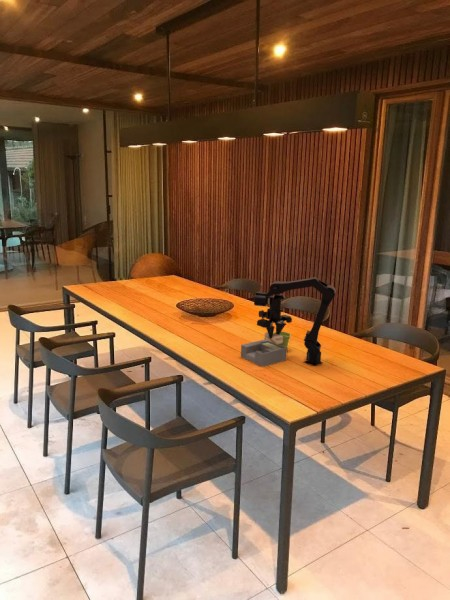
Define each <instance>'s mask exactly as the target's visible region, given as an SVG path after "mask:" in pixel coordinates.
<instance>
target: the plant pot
mask: <svg viewBox="0 0 450 600" xmlns="http://www.w3.org/2000/svg"><path fill="white" fill-rule="evenodd" d="M273 333H275V334H276V331H275V332H274V331H273ZM280 335H281V336H283V343H281V344H278V345H281V346H283V347H286V348H287V349H288V346H289V345H288V344H289V342H290V337H291V336H292V334H291V333H290V332H286V331H281V333H280Z"/></svg>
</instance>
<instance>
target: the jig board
mask: <svg viewBox="0 0 450 600" xmlns="http://www.w3.org/2000/svg"><path fill="white" fill-rule="evenodd" d="M240 347H241V348H240V358H242V359H244V360H247V361H248V362H250V363H253V364H255V365H257V366H259V367H261V368H263V367H266V366H271V365H273V364H278V363H281V362H284V361H287V351H288V347H287V348H286V347H283V346H281V345H278V344H274V343H272V342H269V341H266V340H264V339H261V340H257V341H256V340H255V341H251V342H248V343H244V344H243V343H242V344H241V346H240Z"/></svg>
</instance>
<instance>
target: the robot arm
mask: <svg viewBox="0 0 450 600" xmlns="http://www.w3.org/2000/svg"><path fill="white" fill-rule="evenodd" d="M312 287H313V289H315V290H316V291H317V292H319V293H321V295H322V296H321V301H320V306H319V307H318V311H317V314H316V316H315V319H314V322H313V324H312V327H311V329H310V330H307V331H306V333H305V335H304V339H303V346H305V348H306V349H307V351H306V357H305V358H306V359H305V360H304V363H306V364H308V365H312V366H318V365H322V364H323V363H324V362H323V361H321V359H322V351H321V348H322V344H321V343H320V341H318V340H319V332H320V329H321V326H322V324H323V320H324V318H325V316H326V313H327V310H328V308H329V305H331V303H332V301H333V299H334V298H335V296H336V292H337V291H336V288H335V286H333V285H332V284H331V285H330V284H328V283H326V282H324V281H322V280H321V279H319V278H318V277H315V276H313V277H311V278H304V279H303V278H302V279H296V280H292V281H291V280H290V281H285V280H283V281H282V280H275V281H274V282H272V283H271V285H270V286H269V290H267V292H260V291H256V292H255V295H254V299H253V305H254V307H255V306H257V307H267V305H269V308H267V310H266V311H264V310H263V309H262V310H259V311H258V318H261V319H257V321H256V326H258V327H261V328H264V329H266V331H267V332H268V334H269V338H271V339H272V336H273V333H274V331H275V332H276V334H278V335H280V333H281V332H283V329H284V328H285V326H286V325H287V324H290V323H292V321H293V318H292V316H290V315H287V314H282V313H283V310H284V309H282V300H285V299H286V298H287V297H286V296H285V295H284V294H283V293H285V292H289V291H292V290H293V291H294V290H299V289H306V288H312ZM273 324H275V326H274V325H273ZM321 363H322V364H321Z"/></svg>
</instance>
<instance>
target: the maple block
mask: <svg viewBox="0 0 450 600" xmlns="http://www.w3.org/2000/svg"><path fill="white" fill-rule="evenodd" d="M263 338H264V339H263V340H266V341H269V342H272V343H274V344H281V343H283V336H281V335H278V334H275V333H274V332H273V336H272V339H271V338H269V334H268V331H267V332H264V337H263Z"/></svg>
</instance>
